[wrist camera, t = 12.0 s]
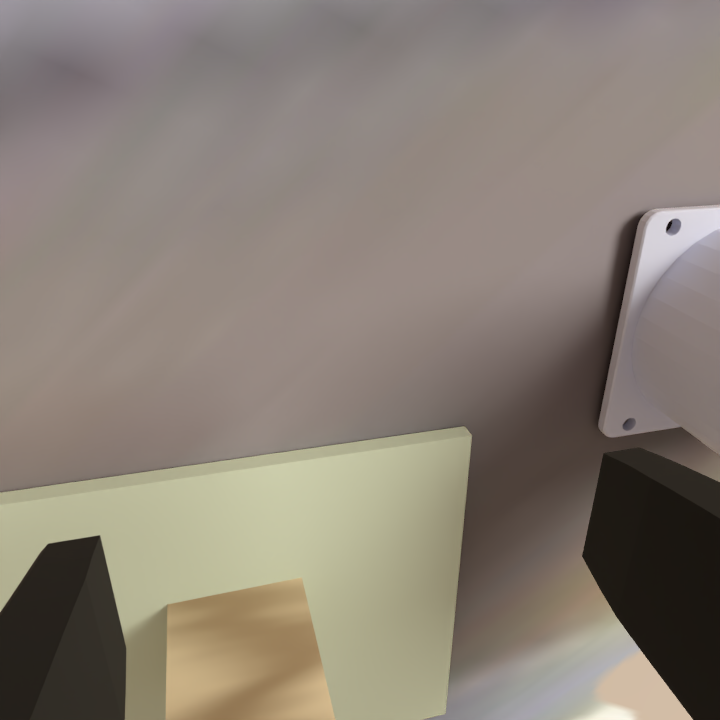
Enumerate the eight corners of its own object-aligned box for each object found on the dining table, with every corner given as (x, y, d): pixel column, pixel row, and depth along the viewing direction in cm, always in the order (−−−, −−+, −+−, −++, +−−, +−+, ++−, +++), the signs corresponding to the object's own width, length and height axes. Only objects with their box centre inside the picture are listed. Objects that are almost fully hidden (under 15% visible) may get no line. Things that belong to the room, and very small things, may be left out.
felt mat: (464, 426, 21) (472, 435, 21) (440, 701, 27) (445, 713, 27) (-72, 503, 18) (-81, 516, 17) (39, 799, 24) (36, 816, 23)
